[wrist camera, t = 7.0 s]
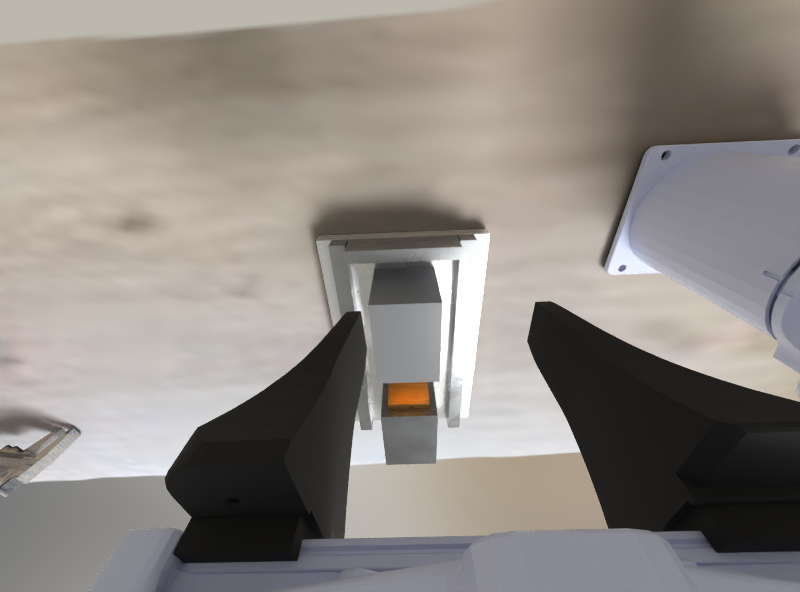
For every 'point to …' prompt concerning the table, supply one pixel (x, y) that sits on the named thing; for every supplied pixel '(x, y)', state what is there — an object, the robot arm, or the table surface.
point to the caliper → (32, 458)
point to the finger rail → (462, 296)
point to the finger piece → (406, 324)
